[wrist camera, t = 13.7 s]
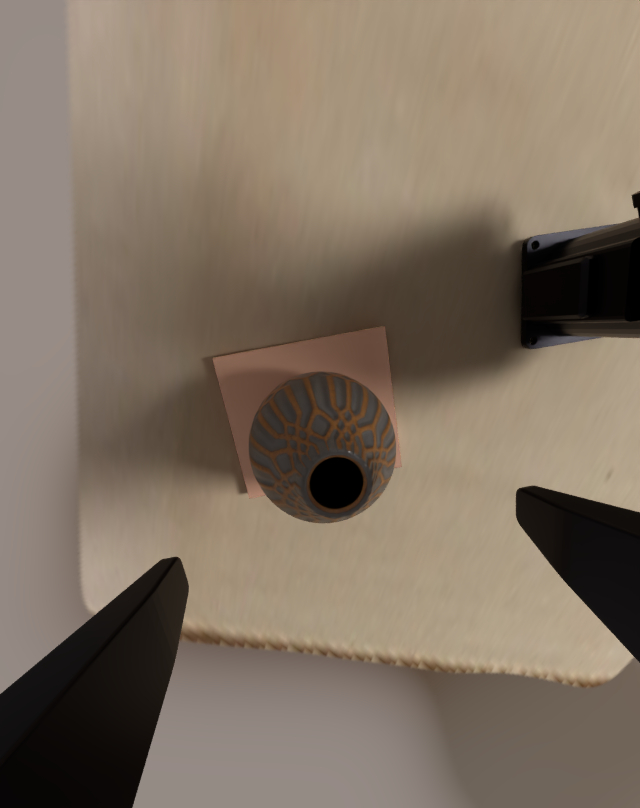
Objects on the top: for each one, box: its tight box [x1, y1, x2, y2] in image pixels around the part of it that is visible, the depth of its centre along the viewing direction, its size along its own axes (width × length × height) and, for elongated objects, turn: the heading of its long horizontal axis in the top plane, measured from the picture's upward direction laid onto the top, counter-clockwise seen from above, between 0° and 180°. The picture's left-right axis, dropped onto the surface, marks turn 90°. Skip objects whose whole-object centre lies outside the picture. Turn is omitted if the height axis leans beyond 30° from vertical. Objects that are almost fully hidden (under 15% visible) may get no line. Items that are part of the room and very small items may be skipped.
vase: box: [249, 371, 396, 523], centre depth 14 cm, size 7×7×9 cm
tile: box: [212, 326, 402, 499], centre depth 20 cm, size 10×2×9 cm
